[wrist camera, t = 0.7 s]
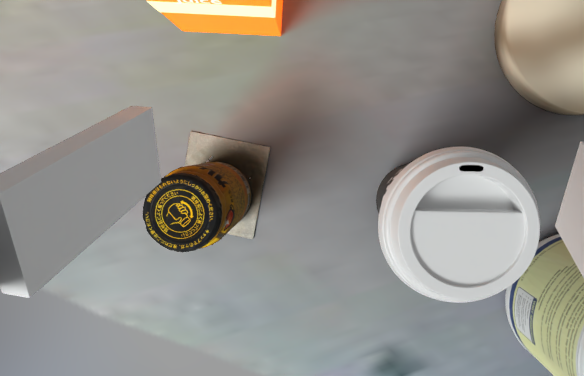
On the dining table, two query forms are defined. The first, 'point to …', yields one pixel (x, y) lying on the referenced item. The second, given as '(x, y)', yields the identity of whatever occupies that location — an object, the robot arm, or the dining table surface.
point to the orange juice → (224, 15)
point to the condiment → (208, 194)
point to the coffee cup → (458, 224)
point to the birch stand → (543, 52)
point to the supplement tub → (550, 309)
